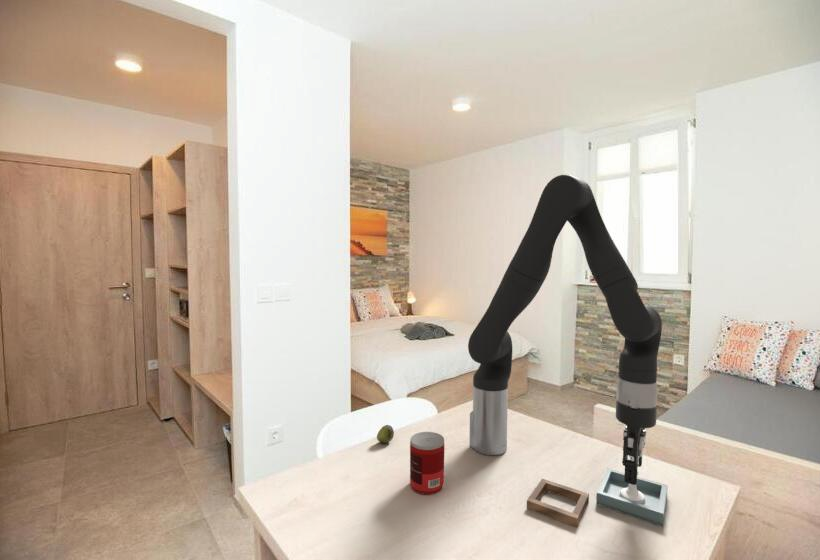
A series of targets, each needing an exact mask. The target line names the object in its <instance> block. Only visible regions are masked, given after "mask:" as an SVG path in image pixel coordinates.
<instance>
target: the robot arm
mask: <svg viewBox="0 0 820 560" xmlns="http://www.w3.org/2000/svg"><path fill="white" fill-rule="evenodd" d="M567 222H568V223H569V224H570V225H571V227H572V228H573V230H574V231H575V233H576V234H577V237H578V239H579V240H580V242H581V246H582V248H583V253H584V256H585V259H586V263H587V266H588V268H589V270H590V273H591V275H592V277H593V279H594V281H595V282H596V285H597V286H598V288H599V290H600V291H601V293H602V295H603V296H604V298H605V301H606V305H607V308H608V310H609V314H610V317H611V319H612V322H613V324H614V326H615V328H616V329H617V331H618V332H619V334H620V335H621V337H623V338H624V345H623V349H622V351H621V352H620V355H619V360H618V374H617V375H618V376H617V377H618V378H617V383H616V397H615V399H616V400H615V418H616V419H617V421H618V422H619V423H620V424H623V425H625V428H624V429H623V433H622V441H623V442H622V443H623V445H622V451H623V453H622V461H621V463H622V466H623V467H624V473H625V477H624V481H625V482H626V483H629V484H632V485H636V483H637V477H638V475H637V471H638V468H641V467H642V465H643V450H644V448H645V445H646V439H647V434H648V433H647V430H646V429H651V428H654V427H655V426H656V425H657V413H658V412H657V410H658V407H657V406H658V388H657V380H658V379H657V377H658V376H657V375H658V355H659V354H658V353H659V348H660V343H661V338H662V329H663V322H662V317H661V315H660V314H659V313H660V312H658V310H657V309H655V308H654V307H653V306H650V305H646V304H644V302H643V300H642V298H641V296H640V294H639V292H638V289H639V285H638V282H637V280H636V278H635V276H634V274H633V273H632V271H631V269H630V268H629V266H628V264H627V263H626V261H625V259H624V257H623V256H622V254H621V252H620V250H619V249H618V247H617V245H616V244H615V242H614V239H613V238H612V236H611V235H610V233H609V231H608V229H607V226H606V225H605V222H604V220H603V217H602V215H601V212H600V210H599V207H598V205H597V201H596V198H595V195H594V193H593V189H592V188H591V186H590V185H589V183H588V182H586V181H585V180H583V179H581V178H578V177H576V176H573V175H570V174H559V175H557V176H555V177H553V178H552V179H550V181H548V182H547V183H546V185H545V187H544V188H543V190H542V193H541V195H540V197H539V200H538V203H537V205H536V208H535V210H534V212H533V216H532V219H531V221H530V223H529V225H528V228H527V229H526V231H525V233H524V235H523V237H522V239H521V240H520V241H521V242H520V244H519V246H518V247H517V248H516V249H517V250H516V252H515V253H514V256H513V257H512V259H511V261H510V263H508V267H507V268H506V271H505V272H504V274H503V277H502V279H501V281H500V284H499V285H498V287H497V289H496V291H495V293H494V295H493V296H492V298H491V302H490V303H489V306H488V307H487V309H486V311H485V313H484V315H482V317H481V319H480V320H479V322H478V323H477V325H476V326H475V328H474V329H473V331H472V332H471V334H470V337H469V339H468V344H467V350H468V354H469V356H470V358H471V359H472V360H473V361H474V362H475V363H477V364H479V367H478V369H477V370H476V371H475V373H474V374H473V379H472V411H471V412H470V413H469V448H472V449H474V450H475V451H476V452H477V453H479V454H482V455H487V456H499V455H503V454H505V453H506V452H507V450H508V449H507V448H508V404H509V403H508V401H509V400H508V399H509V398H508V395H509V392H508V391H509V390H508V389H509V380H510V377H511V373H512V363H513V341H512V337H511V335H510V333H509V328H510V327H511V325H512V324H513V323H514V321H515V320H516V319H517V318H518V317H519V316H520V315H521V313H522V312H524V311H525V310H526V308H527V307H528V306H529V305H530V304H531V303H532V301H533V300H534V299H535V298H536V296H537V294H538V293H539V291H540V289H541V287H542V286H543V284H544V282H545V280H546V279H547V276H548V274H549V271H550V269H551V263H552V259H553V252H554V247H555V244H556V241H557V239H558V237H559V235H560V234H561V232H562V230H563V228H564V226H565V225H566V223H567ZM629 456H633V457H634V461H632V460H629V459H632V458H631V457H629ZM638 462H639V464H638Z"/></svg>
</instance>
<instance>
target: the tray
mask: <svg viewBox="0 0 820 560" xmlns="http://www.w3.org/2000/svg"><path fill="white" fill-rule="evenodd" d="M624 477H625V472H623V471H619V470H616V469H612V468H609V467H607V468H606V471H605V472H604V475H603V477H602V480H601V481H600V484H599V487H598V489H597V491H596V503H595V504H596V505H598V506H600V507H604V508H606V509H609V510H612V511H616V512H619V513H622V514H625V515H626V516H631V517H632V518H633V517H634V518H636V519H639V520H642V521H645V522H648V523H651V524H654V525H657V526H660V527H664V521H665V514H666V508H667V507H666V505H667V499H668V487H669V486H668V484H666V483H662V482H658V481H654V480H651V479H648V478H644V477H641V476H637V483H636V487H637V490H638V491H640V492H641V493H643V495H644V496H645V503H643V504H640V503H637V502H633V501H630V500H627V499H624V498H621V497H620V495H619V493H620V490H621V489H622V488H627V487H628V485H629V483H626V482H625V481H624Z"/></svg>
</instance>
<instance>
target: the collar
mask: <svg viewBox="0 0 820 560" xmlns="http://www.w3.org/2000/svg"><path fill="white" fill-rule="evenodd" d="M545 492H549V493H551V494H555V495H558V496H560V497H564V498H567V499H569V500H572V501H575V502H577V503H576V505H575V507H574V509H573V511H572V512H571V511H568V510H565V509H563V508H561V507H557V506H554V505H551V504H549V503H546V502H543V501H541V499H542V497H544V496H543V495H544V494H545ZM589 496H590V493H587V492H585V491H582V490H579V489H576V488H573V487H569V486H566V485H563V484H560V483H557V482H554V481H551V480H548V479H544V478H541V479H540V481H539V482H538V483H537V485H536V487H535V488H534V489H533V491H532V492H531V494H530V495H529V497H528V498H527V499H526V509H527V510H530V511H533V512H535V513H537V514H540V515H543V516H546V517H548V518H550V519H553V520H557V521H558V522H560V523H561V522H562V523H564V524H567V525H570V526H572V527H575V528H578V527H579V525H580V522H581V521H582V517H583V515H584V513H585V511H586V509H587V507H588V505H589V502H590V497H589Z"/></svg>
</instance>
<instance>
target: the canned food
mask: <svg viewBox="0 0 820 560" xmlns="http://www.w3.org/2000/svg"><path fill="white" fill-rule="evenodd" d="M409 443H410V444H409V477H410V478H409V482H410V486H411V489H412V490H413V491H414V492H416V493H418V494H420V495H425V496H426V495H427V496H428V495H434V494H437V493H438V492H441V491H442V489H443V487H444V483H445V438H444V436H443V435H442V434H441V433H438V432H435V431H422V432H417V433H415V434H413V435H411V436H410V441H409Z"/></svg>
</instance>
